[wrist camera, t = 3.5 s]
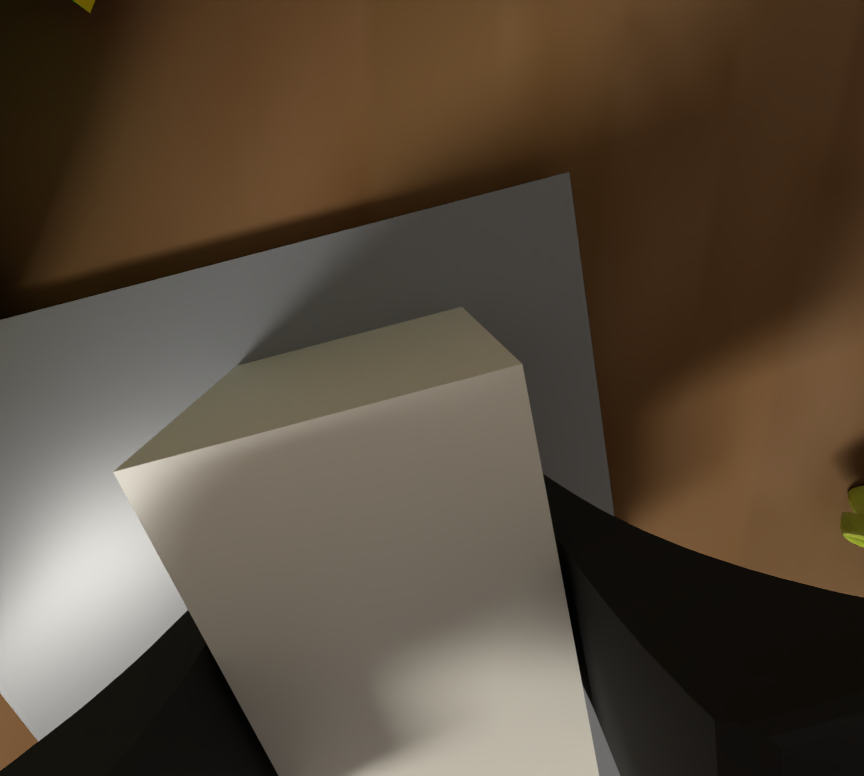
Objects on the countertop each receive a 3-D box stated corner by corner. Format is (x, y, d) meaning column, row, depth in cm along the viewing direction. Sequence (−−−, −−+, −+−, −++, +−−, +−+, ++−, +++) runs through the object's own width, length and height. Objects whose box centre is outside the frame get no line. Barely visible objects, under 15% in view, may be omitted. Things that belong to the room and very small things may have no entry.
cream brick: (362, 675, 12) (349, 905, 8) (236, 365, 9) (112, 471, 5) (533, 629, 12) (610, 834, 8) (461, 306, 9) (523, 363, 5)
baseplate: (295, 1032, 19) (291, 1069, 18) (-192, 371, 9) (-250, 384, 9) (661, 930, 19) (674, 962, 19) (555, 176, 10) (571, 171, 9)
